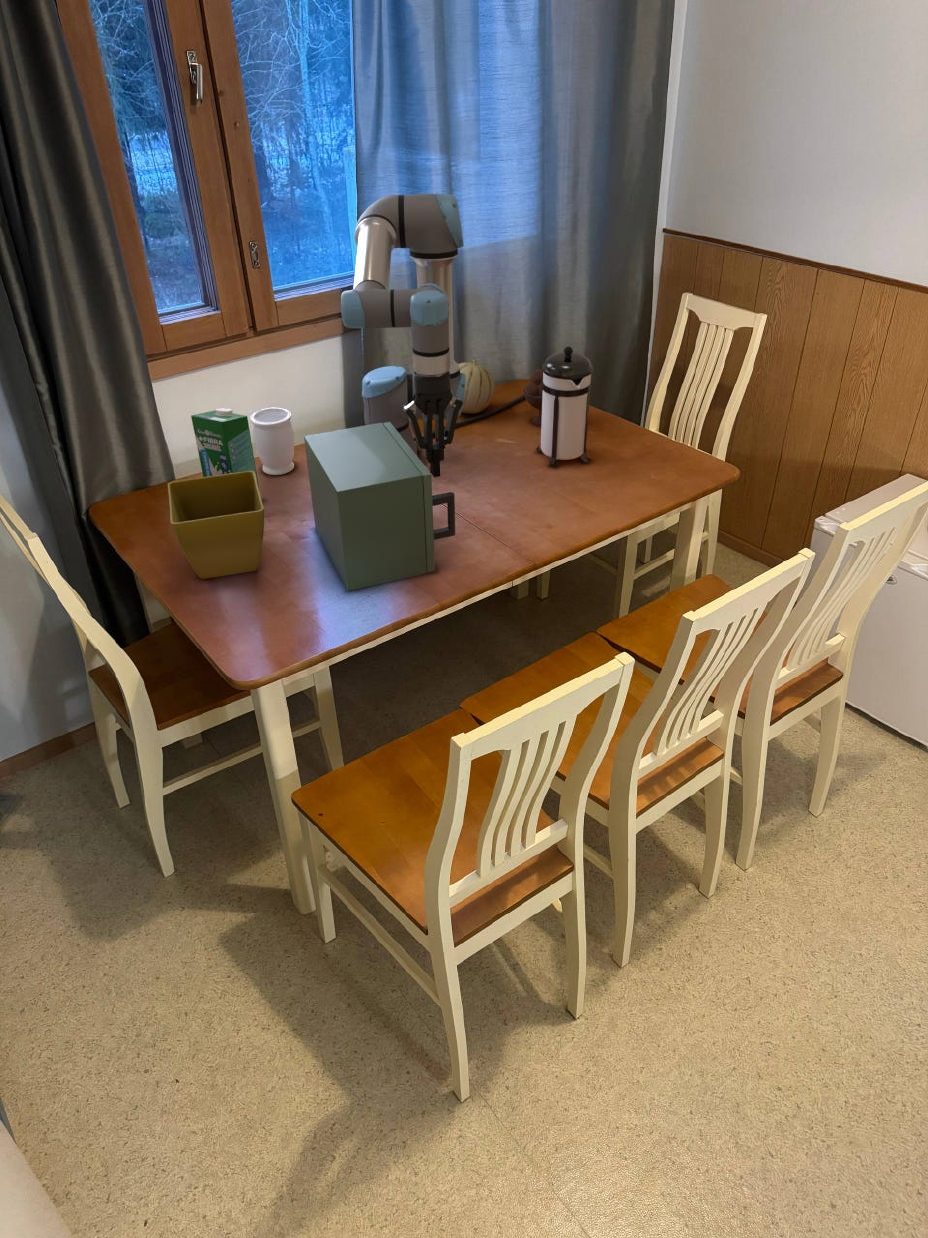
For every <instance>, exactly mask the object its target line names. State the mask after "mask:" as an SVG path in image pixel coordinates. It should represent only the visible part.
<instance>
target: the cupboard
mask: <svg viewBox="0 0 928 1238" xmlns="http://www.w3.org/2000/svg"><path fill="white" fill-rule="evenodd" d="M303 440H304V447H305V456H306V463H307V473H308V479H309V487H310V488H309V489H310V495H311V504H312V512H313V520H314V527H315V528H314V529H315V531H316V533H317V535H318V536H319V539H320V541H321V542H322V545H323V547H324V548H325V550H326V552H327V554H328V556H329V558H330V560H331V562H332V564H333V565H334V567H335V569H336V571H337V573H338V575H339V577H340V579H341V581H342V583H343V585H344V587H345V588H346V591H347V592H350V591H354V590H359V589H364V588H368V587H371V586H372V587H373V586H376V585H380V584H385V583H390V582H395V581H398V580H404V579H408V578H411V577H417V576H420V575H425V574H427V573H428V572H427V567H426V545H425V522H424V500H423V480H422V479H423V478H422V474H421V473H420V472H419V470H418V469H417V468H416V466H415V465H414V464H413V463H412V461H411V460H410V459H409V457H408V456H407V455H406V454H405V452H404V451H403V450H402V448H401V447H400V446H399V445H398V443H397V442H396V441H395V439H394V438H393V437H392V436H391V434H390V433H389V432H388V430H387V429H386V428H385V427H384V425H383V424H382V423H376V424H371V425H365V424H364V425H360V426H354V427H349V428H343V429H336V430H331V431H324V432H320V433H319V432H318V433H313V434H307V435H303Z"/></svg>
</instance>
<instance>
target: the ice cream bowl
mask: <svg viewBox="0 0 928 1238" xmlns="http://www.w3.org/2000/svg"><path fill="white" fill-rule="evenodd" d="M542 380H543V371H542V368H540V369H537V370H535V371H534V372H533V373H532V375H531V377H530V381H529V383H527V385H526V386H525V388H524V389H523V390H522V391H523V395H524V396H525V398H524V399H525V400H526V402H527V403H528V404H529V405H530V406H531V407H532V408H534V409H536V410H538V416H535V417H534V418H533V419H532V420H531V421H532V423H533V425H535V426H539V427H541V423H542V396H543V389H542Z"/></svg>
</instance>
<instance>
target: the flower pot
mask: <svg viewBox="0 0 928 1238" xmlns="http://www.w3.org/2000/svg"><path fill="white" fill-rule="evenodd" d="M258 485H259V483H258V484H257V480H256V475H255V472H254V471H244V472H238V473H230V474H223V475H216V476H209V477H203V476H201V477H195V478H187V479H181V480H173V481H170V482H168V483H167V492H168V493H167V494H168V502H169V503H168V504H169V515H170V516H169V517H170V518H169V519H170V524H171V527H172V530H173V533H174V535H175V537H176V539H177V541H178V544H179V546H180V548H181V550H182V552H183V554H184V556H185V557H186V560H187V561H188V563H189V565H190V566H191V568H192V570H193V571H194V572H195V574H196V575H197V577H198V578H199V579H201V580H206V579H207V580H208V579H213V578H218V577H224V576H231V575H237V574H243V573H249V572H255V571H257V570H258V569H259V566H260V565H259V564H260V562H261V557H262V551H263V550H262V549H263V543H264V533H265V509H264V504H263V501H262V496H261V491H260V487H259V488H258ZM259 491H260V492H259Z"/></svg>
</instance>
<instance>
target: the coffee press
mask: <svg viewBox="0 0 928 1238" xmlns="http://www.w3.org/2000/svg"><path fill="white" fill-rule="evenodd" d="M541 369H542V371H543V380H542V389H543V396H542V423H541V426H540V443H539V445H538V446H537V447H536V452H537V453H543V454H544V455H545V456H546V457H548V458H550V460H549V467H552V468H556V466H557V463H558V461H559V460H560V461H568V460H574V459H577V458H580V460H581V461H582V462H583V463H588V462H589V460H590V457H591V456H590V455H589V453H588V451H587V440H588V423H589V412H590V411H589V410H590V399H591V398H590V394H591V393H590V391H591V389H592V380H591V379H592V374H593V370H594V367H593V365H592V363H591V360H590V359H589V358H588V357H586V356H585V355H583V354H580V353H577V352H574V350H573V348H572V347H571V346H566V347H565V348H564V349H563V352H557V353H553V354H551V355H550V356H548V357H547V358H546V359H545V361H544V363H542V365H541ZM583 455H584V456H585V457H584V456H583Z"/></svg>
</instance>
